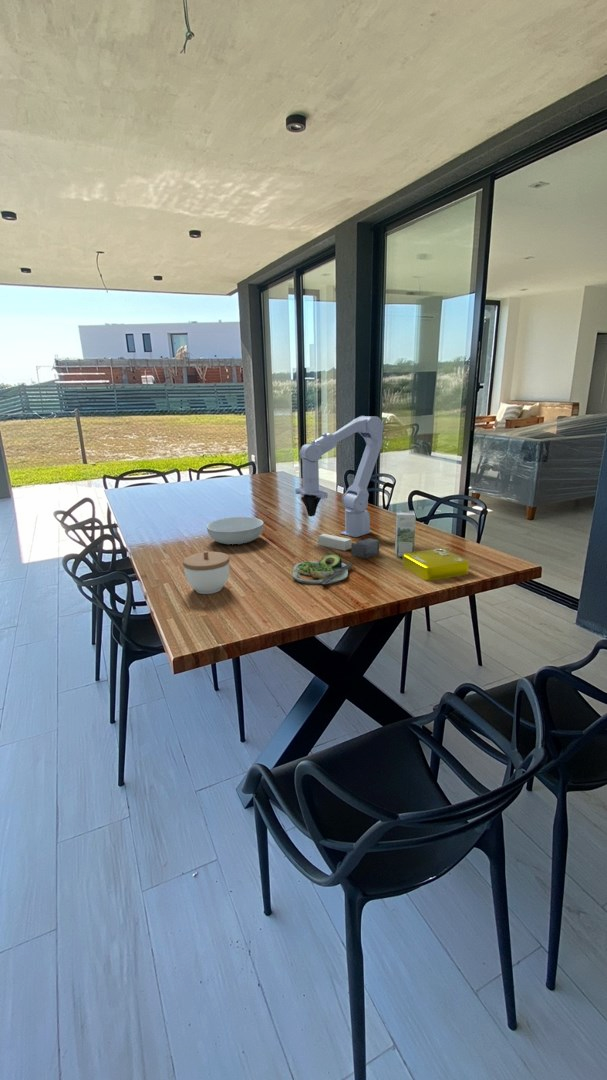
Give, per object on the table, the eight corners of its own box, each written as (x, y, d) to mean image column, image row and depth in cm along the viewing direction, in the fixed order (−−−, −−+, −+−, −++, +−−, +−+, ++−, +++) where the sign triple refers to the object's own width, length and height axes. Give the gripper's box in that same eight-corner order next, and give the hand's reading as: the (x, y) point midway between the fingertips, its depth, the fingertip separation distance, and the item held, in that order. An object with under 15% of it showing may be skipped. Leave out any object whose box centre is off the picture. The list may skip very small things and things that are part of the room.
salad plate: (352, 589, 135) (352, 573, 134) (288, 589, 137) (287, 573, 136) (352, 566, 154) (352, 552, 153) (295, 566, 156) (295, 552, 154)
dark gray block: (365, 550, 168) (365, 537, 167) (379, 553, 164) (379, 540, 163) (351, 554, 164) (351, 541, 162) (365, 558, 159) (365, 545, 158)
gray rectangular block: (324, 543, 179) (323, 533, 178) (351, 548, 171) (351, 539, 170) (317, 545, 176) (317, 535, 175) (345, 551, 169) (345, 541, 168)
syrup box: (412, 552, 165) (413, 509, 161) (414, 557, 159) (415, 514, 155) (394, 552, 165) (395, 509, 161) (396, 557, 160) (397, 514, 156)
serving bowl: (202, 538, 188) (200, 521, 186) (253, 531, 196) (252, 514, 195) (216, 553, 170) (214, 534, 168) (272, 544, 178) (271, 525, 176)
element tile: (399, 566, 153) (400, 551, 151) (441, 560, 157) (442, 546, 156) (426, 582, 139) (427, 566, 138) (471, 575, 144) (472, 559, 142)
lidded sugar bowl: (211, 578, 146) (208, 542, 143) (240, 587, 139) (238, 549, 135) (176, 591, 137) (172, 553, 134) (206, 601, 129) (202, 562, 126)
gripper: (288, 478, 177) (290, 514, 181) (317, 482, 167) (318, 520, 171) (302, 475, 182) (303, 511, 186) (331, 479, 172) (332, 517, 175)
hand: (311, 515), depth 179 cm, fingers closed
